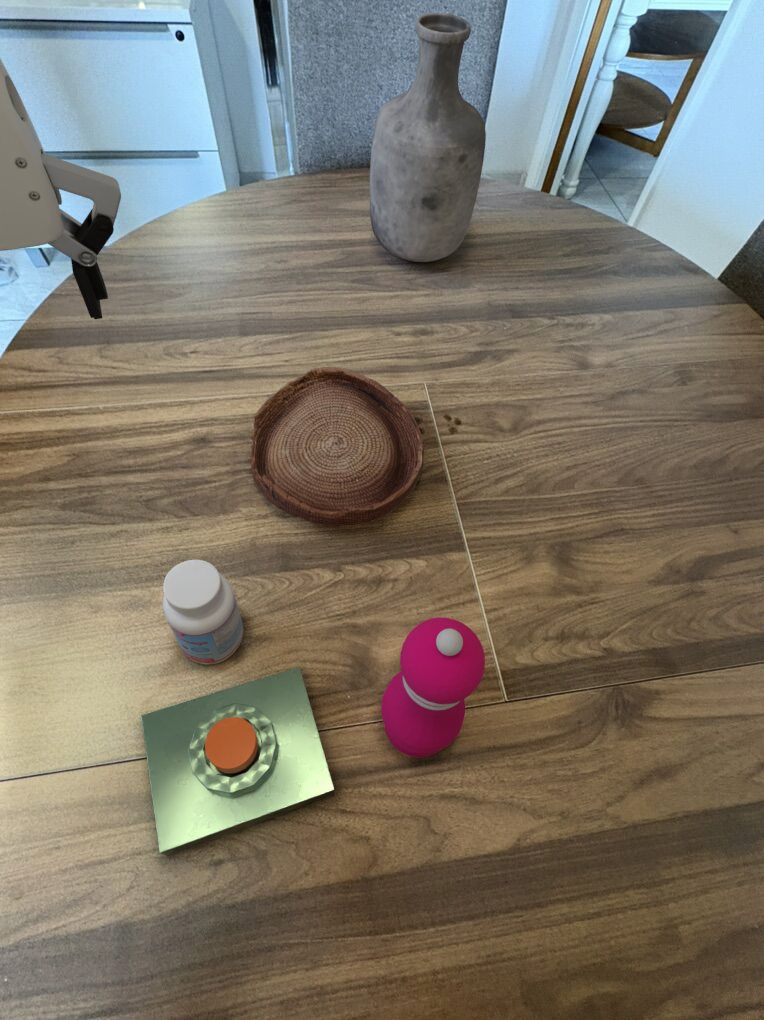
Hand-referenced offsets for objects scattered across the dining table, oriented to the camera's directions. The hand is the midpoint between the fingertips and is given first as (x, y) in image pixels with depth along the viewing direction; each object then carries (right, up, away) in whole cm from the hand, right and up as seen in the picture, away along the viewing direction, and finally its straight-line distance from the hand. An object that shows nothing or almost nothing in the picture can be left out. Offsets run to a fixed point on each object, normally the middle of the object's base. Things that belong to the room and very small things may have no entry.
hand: (22, 318), depth 42 cm
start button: (+13, -33, +8) cm, 36 cm away
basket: (+19, -7, +31) cm, 37 cm away
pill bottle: (+8, -26, +18) cm, 32 cm away
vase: (+30, +29, +57) cm, 71 cm away
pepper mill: (+28, -33, +14) cm, 46 cm away
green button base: (+12, -35, +11) cm, 39 cm away
